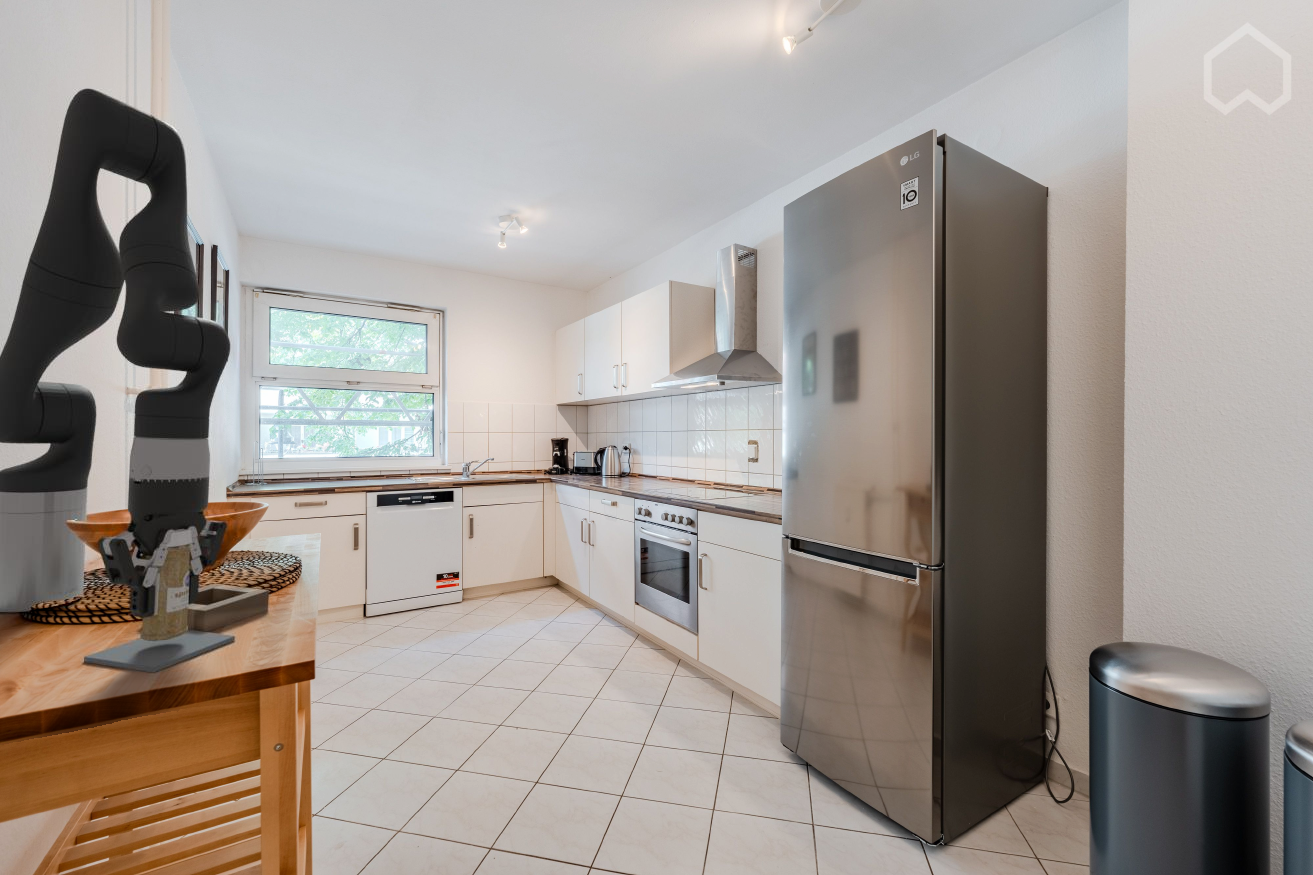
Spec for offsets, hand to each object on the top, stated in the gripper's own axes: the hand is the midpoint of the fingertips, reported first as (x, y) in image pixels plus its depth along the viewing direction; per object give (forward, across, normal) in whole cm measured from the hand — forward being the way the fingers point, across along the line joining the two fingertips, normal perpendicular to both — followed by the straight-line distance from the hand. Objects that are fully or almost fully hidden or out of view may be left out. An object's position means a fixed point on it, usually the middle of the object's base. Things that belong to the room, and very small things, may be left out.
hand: (164, 608), depth 69 cm
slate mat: (+5, 0, 0) cm, 5 cm away
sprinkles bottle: (+3, 0, 0) cm, 3 cm away
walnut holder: (+5, -11, -6) cm, 14 cm away
